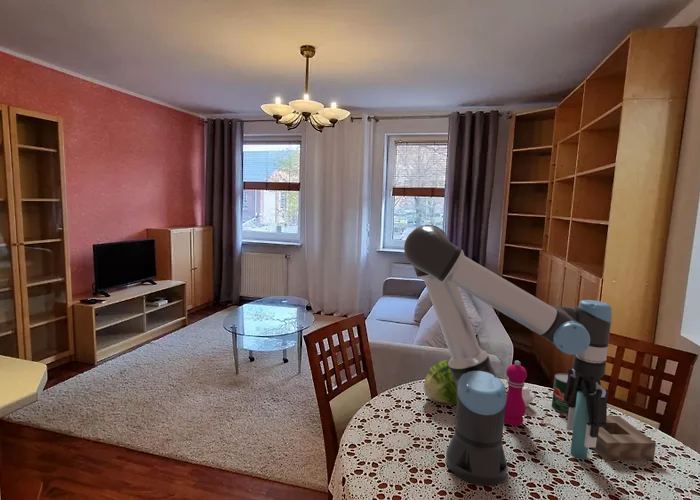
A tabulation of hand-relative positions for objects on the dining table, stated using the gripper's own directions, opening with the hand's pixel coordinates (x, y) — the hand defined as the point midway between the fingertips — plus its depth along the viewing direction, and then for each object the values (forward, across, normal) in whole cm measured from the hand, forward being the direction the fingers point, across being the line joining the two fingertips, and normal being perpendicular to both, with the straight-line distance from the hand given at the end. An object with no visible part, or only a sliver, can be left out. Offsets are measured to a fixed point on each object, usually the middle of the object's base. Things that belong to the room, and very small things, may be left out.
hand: (580, 437), depth 108 cm
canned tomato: (+5, +25, -11) cm, 28 cm away
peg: (+5, 0, 0) cm, 5 cm away
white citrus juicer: (+5, +27, +3) cm, 28 cm away
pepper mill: (+5, +17, +11) cm, 21 cm away
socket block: (+5, +5, -13) cm, 15 cm away
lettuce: (+5, +29, +27) cm, 40 cm away
